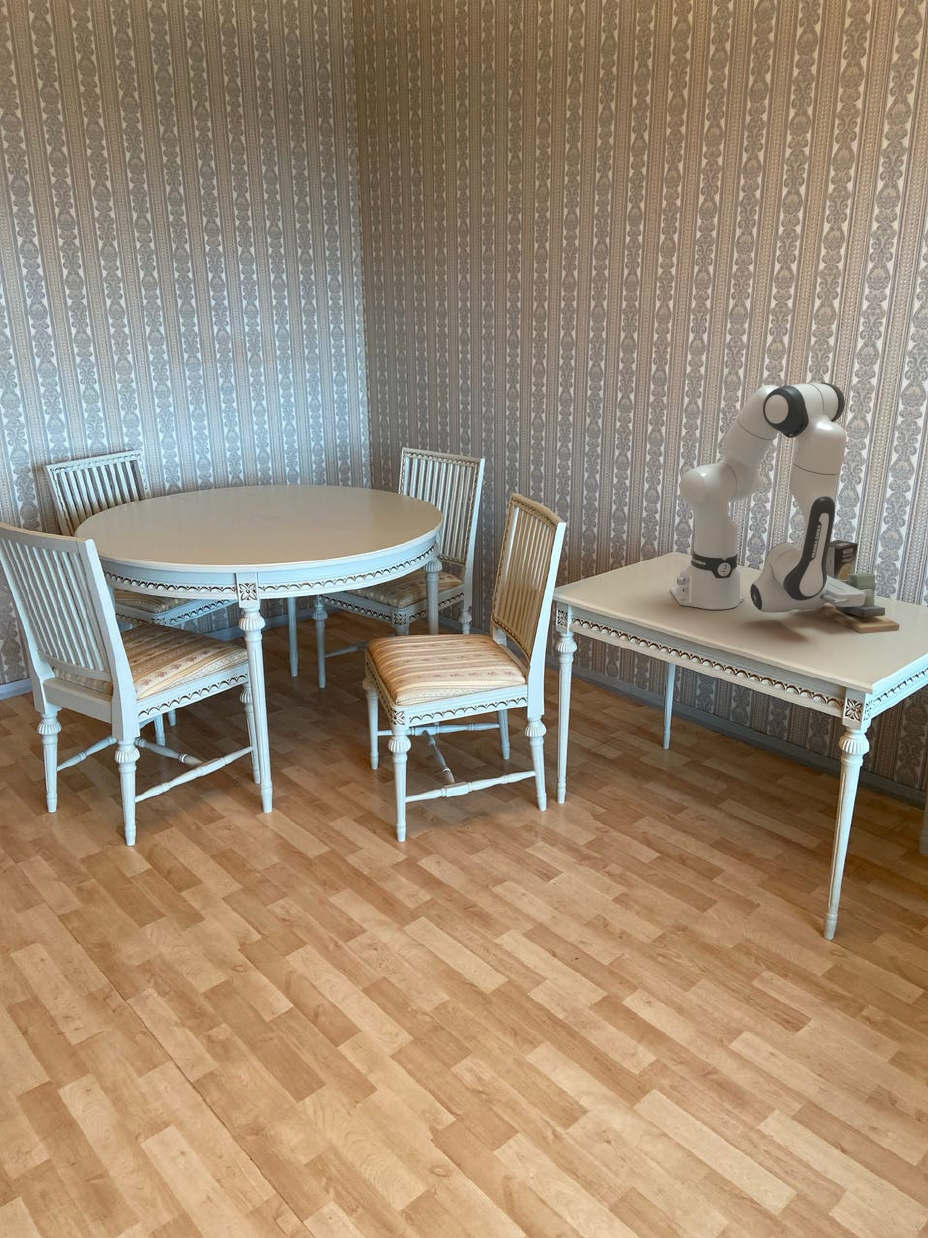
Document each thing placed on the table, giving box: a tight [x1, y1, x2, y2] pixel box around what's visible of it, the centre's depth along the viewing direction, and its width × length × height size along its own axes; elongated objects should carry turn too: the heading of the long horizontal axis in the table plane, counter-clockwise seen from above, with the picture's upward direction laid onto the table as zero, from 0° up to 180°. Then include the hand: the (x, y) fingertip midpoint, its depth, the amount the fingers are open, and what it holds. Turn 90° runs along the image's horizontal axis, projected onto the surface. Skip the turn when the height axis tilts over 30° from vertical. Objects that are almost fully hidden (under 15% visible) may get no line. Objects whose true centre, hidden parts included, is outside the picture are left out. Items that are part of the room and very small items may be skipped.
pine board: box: [815, 603, 901, 634], centre depth 258 cm, size 21×11×2 cm, turn 12°
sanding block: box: [836, 572, 886, 617], centre depth 255 cm, size 12×6×10 cm, turn 13°
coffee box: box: [826, 539, 859, 603], centre depth 272 cm, size 9×6×16 cm
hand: (861, 587), depth 256 cm, fingers open, 7 cm apart
